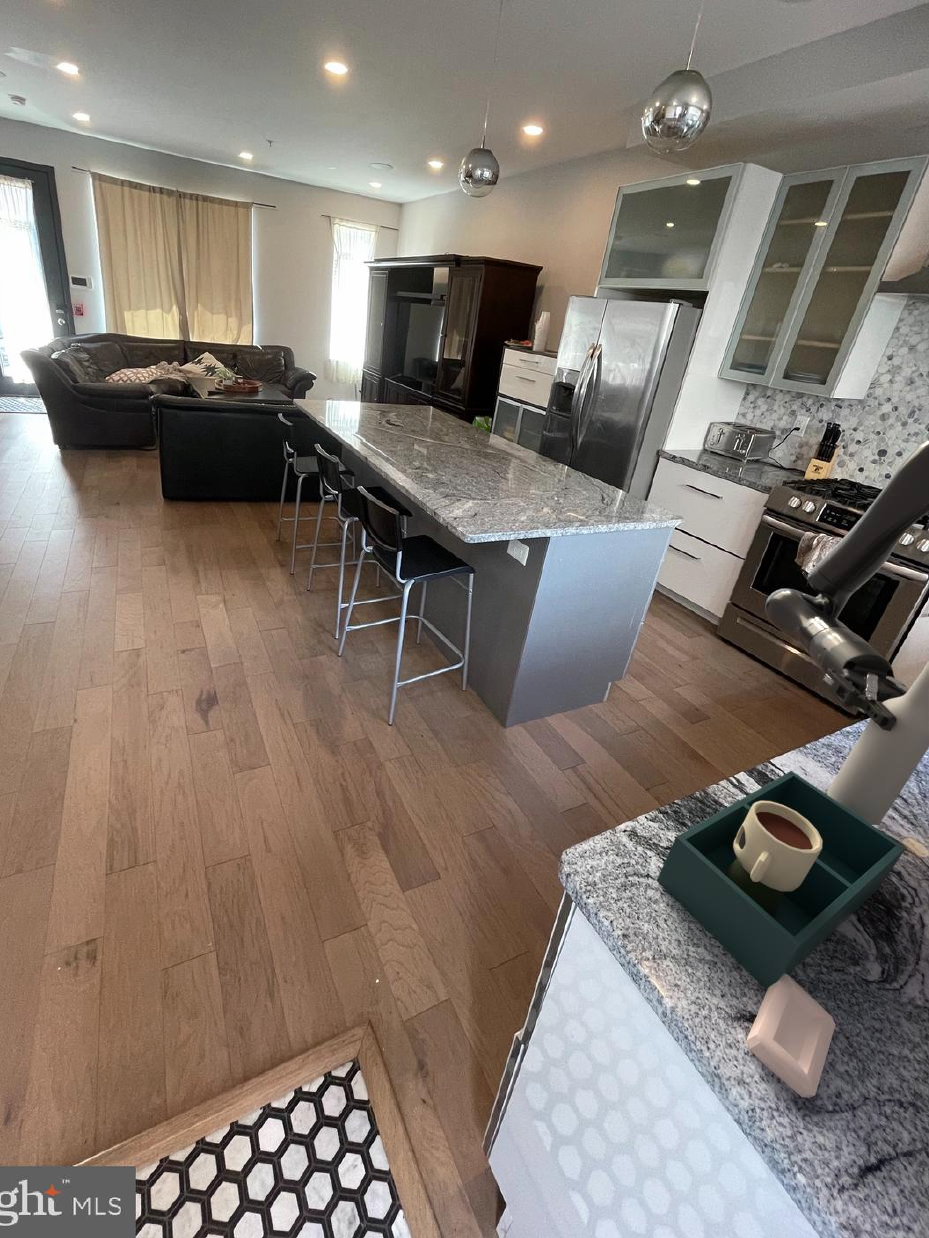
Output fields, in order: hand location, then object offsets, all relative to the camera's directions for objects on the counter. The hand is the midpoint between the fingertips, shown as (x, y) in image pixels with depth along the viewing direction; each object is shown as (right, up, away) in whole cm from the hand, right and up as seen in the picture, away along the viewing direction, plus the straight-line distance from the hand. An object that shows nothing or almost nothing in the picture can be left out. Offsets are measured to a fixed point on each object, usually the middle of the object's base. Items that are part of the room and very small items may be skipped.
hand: (919, 731), depth 71 cm
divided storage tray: (-19, -19, -1) cm, 27 cm away
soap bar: (-28, -25, -16) cm, 41 cm away
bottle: (-2, -13, +8) cm, 16 cm away
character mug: (-25, -20, -4) cm, 32 cm away
